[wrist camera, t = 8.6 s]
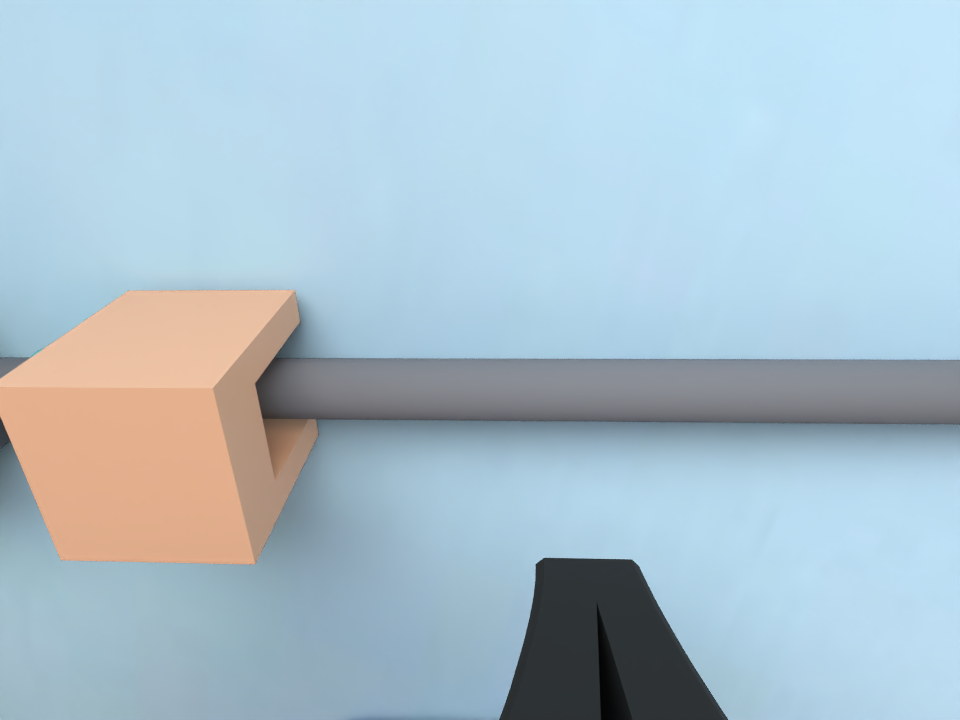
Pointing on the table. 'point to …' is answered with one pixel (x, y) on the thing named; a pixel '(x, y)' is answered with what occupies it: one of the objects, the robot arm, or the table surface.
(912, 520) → the table surface
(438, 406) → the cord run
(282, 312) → the sleeve
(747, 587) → the table surface
